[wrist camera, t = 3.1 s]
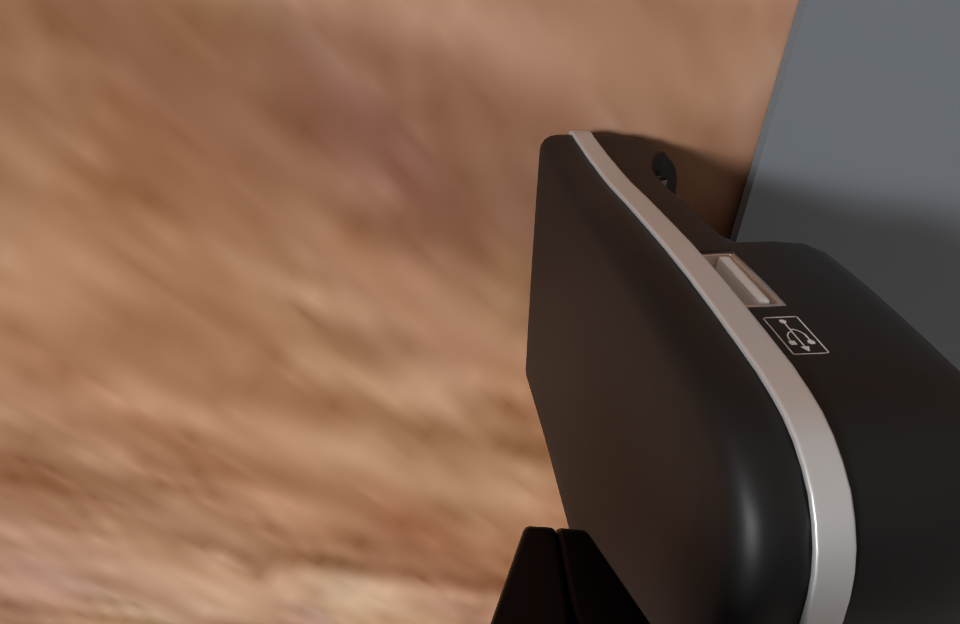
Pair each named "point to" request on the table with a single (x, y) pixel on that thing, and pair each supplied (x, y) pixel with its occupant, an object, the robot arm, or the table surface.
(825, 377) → the battery charger
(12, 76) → the table surface
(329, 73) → the table surface
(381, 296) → the table surface
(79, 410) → the table surface
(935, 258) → the gray mat
